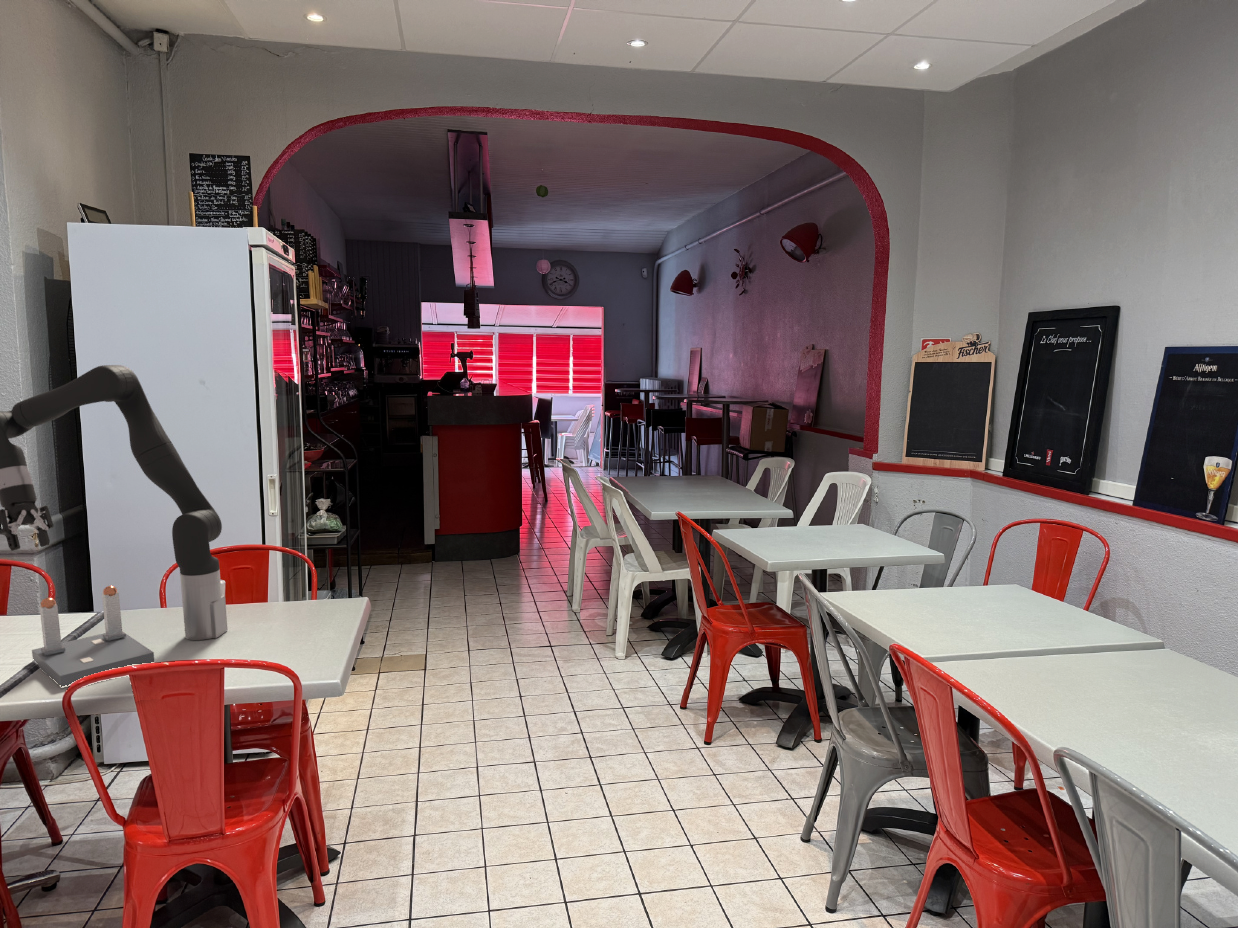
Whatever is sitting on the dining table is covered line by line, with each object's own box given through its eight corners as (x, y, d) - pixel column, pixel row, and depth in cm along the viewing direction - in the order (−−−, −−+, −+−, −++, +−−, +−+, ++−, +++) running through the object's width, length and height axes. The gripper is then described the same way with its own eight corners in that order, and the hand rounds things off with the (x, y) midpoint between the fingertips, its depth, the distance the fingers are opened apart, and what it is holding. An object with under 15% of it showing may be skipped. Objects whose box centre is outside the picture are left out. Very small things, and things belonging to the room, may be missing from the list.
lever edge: (41, 651, 195) (35, 597, 193) (60, 646, 198) (55, 594, 196) (45, 655, 192) (39, 601, 190) (65, 650, 195) (59, 597, 193)
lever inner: (102, 637, 204) (97, 586, 202) (120, 633, 207) (116, 582, 205) (108, 640, 202) (103, 589, 200) (126, 636, 205) (121, 585, 203)
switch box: (33, 661, 197) (31, 649, 197) (121, 640, 211) (119, 628, 211) (61, 688, 181) (60, 674, 181) (154, 664, 195) (153, 651, 195)
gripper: (1, 483, 200) (18, 547, 200) (51, 481, 214) (66, 541, 214) (-24, 491, 202) (-7, 555, 201) (27, 489, 216) (42, 548, 215)
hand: (30, 547), depth 208 cm, fingers open, 8 cm apart
